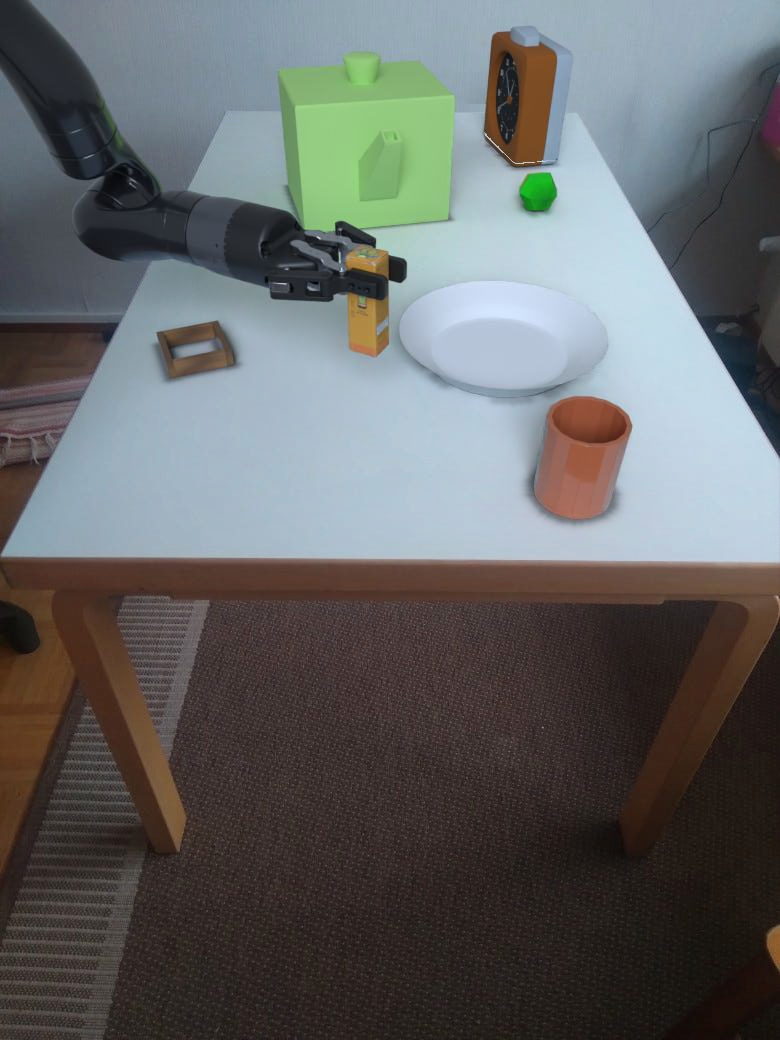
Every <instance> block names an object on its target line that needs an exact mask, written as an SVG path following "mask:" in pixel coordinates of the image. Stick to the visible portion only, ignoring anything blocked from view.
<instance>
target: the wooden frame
mask: <svg viewBox="0 0 780 1040" xmlns="http://www.w3.org/2000/svg"><path fill="white" fill-rule="evenodd" d="M155 334H156V338H157V342H158V344H159V345H158V346H159V349H160V351H161V355H162V358H163V361H164V364H165V368H166V371H167V373H168V377H169V379H173V378H178V377H183V376H188V375H193V374H197V373H203V372H207V371H211V370H212V371H213V370H217V369H222V368H226V367H230V366H234V365H235V362H234V361H235V360H234V355H233V350H232V348H231V345H230V343H229V341H228V339H227V337H226V335H225V332H224V331H223V328H222V326H221V324H220V322H219V320H218V319H217V320H212V321H207V322H202V323H197V324H190V325H187V326H182V327H175V328H170V329H166V330H165V329H164V330H160V331H156V332H155ZM212 339H216V342H217V344H218V346H219V349H217V350H212V351H208V352H207V351H206V352H203V353H198V354H193V355H187V356H183V357H178V358H172V355H171V352H170V348H171V347H177V346H181V345H187V344H192V343H197V342H203V341H207V340H212Z"/></svg>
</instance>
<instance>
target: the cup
mask: <svg viewBox="0 0 780 1040" xmlns="http://www.w3.org/2000/svg"><path fill="white" fill-rule="evenodd" d="M632 429H633V423H632V421H631V418H630V415H629V414H628V413H627V412H625V410H624V409H623V408H621V407H620V406H619V405H617V404H615V403H614V402H611V401H609V400H607V399H603V398H599V397H595V396H590V395H584V396H583V395H574V396H569V397H565V398H561V399H559V400H557V401H556V402H554V403H553V404H551V405H550V406H549V408H548V411H547V413H546V416H545V421H544V427H543V432H542V437H541V443H540V448H539V454H538V459H537V462H536V463H537V465H536V470H535V474H534V481H533V493H534V496H535V498H536V500H537V502H538V503H539V504H540V505H541V506H542V507H543V508H544V509H545V510H547V511H549V512H550V513H553V514H554V515H557V516H560V517H562V518H565V519H566V518H567V519H573V520H574V519H575V520H583V519H584V520H586V519H591V518H594V517H597V516H599V515H601V514H602V513H604V512H605V511H606V510H607V509H608V507H609V506H610V505H611V504H610V503H611V501H612V497H613V495H614V491H615V487H616V484H617V480H618V477H619V474H620V471H621V467H622V464H623V460H624V457H625V453H626V450H627V447H628V443H629V440H630V437H631V434H632Z"/></svg>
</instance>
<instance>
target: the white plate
mask: <svg viewBox="0 0 780 1040" xmlns="http://www.w3.org/2000/svg"><path fill="white" fill-rule="evenodd" d="M398 333H399V339H400V341H401V343H402V345H403V347H404V348H405V350H406V352H408V353H409V355H410V356H411V357H412V358H413V359H415V361H417V362H418V363H419V364H421V365H422V366H424V367H425V368H427V369H428V370H430V371H432V372H434V373H435V374H436V375H437V376H438V377H439V378H440V379H442V380H443V381H444V382H446V383H448V384H449V385H451V386H453V387H455V388H458V389H460V390H462V391H465V392H468V393H472V394H476V395H478V396H479V395H480V396H485V397H493V398H506V399H507V398H522V397H530V396H534V395H537V394H541V393H545V392H547V391H549V390H552V389H553V388H555V387H558V386H560V385H562V384H565V383H568V382H570V381H573V380H575V379H578V378H580V377H582V376H583V375H586V374H587V373H588V372H590V371H592V369H594V368H595V367H597V366H598V365H599V363H601V361H602V359H604V357H605V355H606V352H607V350H608V346H609V336H608V333H607V329H606V327H605V326H604V323H603V322H602V320H601V319H600V318H599V317H598V316H597V315H596V313H595V312H593V311H592V310H591V309H590V308H589V307H587V306H586V305H585V304H583V303H581V302H579V301H578V300H576V299H575V298H572V297H571V296H568V295H566V294H564V293H562V292H559V291H557V290H553V289H550V288H547V287H544V286H539V285H536V284H530V283H525V282H518V281H508V280H476V281H475V280H474V281H467V282H460V283H455V284H451V285H447V286H444V287H440V288H438V289H435V290H433V291H430V292H428V293H426V294H424V295H423V296H421V297H419V298H418V299H416V300H414V301H413V302H412V303H411V304H410V305H409V306H408V307H407V308H406V309H405V311H404V312H403V314H402V316H401V318H400V320H399V325H398Z"/></svg>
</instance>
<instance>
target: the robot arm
mask: <svg viewBox="0 0 780 1040" xmlns="http://www.w3.org/2000/svg"><path fill="white" fill-rule="evenodd" d="M0 73H1V74H2V77H4V79H5V81H6V82H7V83H8V85H9V87H10V88H11V89H12V92H14V95H15V96H16V98H17V100H18V101H19V102H20V104H21V106H22V108H23V110H24V112H25V113H26V115H27V117H28V118H29V121H30V122H31V123H32V125H33V127H34V129H35V131H36V132H37V134H38V136H39V138H40V140H41V141H42V142H43V144H44V146H45V148H46V149H47V152H48V153H49V155H50V157H51V158H52V160H53V161H54V163H55V164H56V166H57V168H58V169H59V170H60V171H61V172H62V173H63V174H65V175H66V176H67V177H69V178H71V179H74V180H77V181H92V180H94V181H93V182H92V183H91V184H90V186H89V187H88V188H87V189H86V190H85V192H84V193H83V194H82V195H81V197H79V199H78V200H77V201H76V203H75V204H74V205H73V208H72V210H71V217H70V218H71V219H70V220H71V226H72V229H73V231H74V234H76V237H77V238H78V240H79V241H80V243H82V244H83V245H84V246H85V247H86V248H88V249H89V250H90V251H91V252H92V253H94V254H96V255H98V256H100V257H103V258H105V259H109V260H112V261H118V262H124V263H125V262H126V263H133V262H155V261H156V262H157V261H168V260H175V261H177V262H182V263H185V264H188V265H192V266H195V267H199V268H203V269H205V270H208V271H210V272H212V273H214V274H216V275H219V276H222V277H226V278H230V279H233V280H238V281H240V282H245V283H249V284H252V285H255V286H259V287H262V288H266V289H269V297H270V299H272V300H278V301H296V302H315V303H317V302H318V303H331V302H333V301H334V300H335V298H334V296H335V295H338V296H347V294H349V293H353V294H356V295H360V296H364V297H368V298H372V299H376V300H380V301H382V300H384V299H385V298H386V297H387V296H388V279H387V277H386V276H384V275H381V274H377V273H373V272H369V271H365V270H362V269H358V268H354V267H353V268H351V269H350V270H348V266H346V256H347V255H348V254H349V253H350V252H352V251H353V250H354V249H356V248H357V247H359V246H361V245H362V246H367V247H371V248H376V249H377V237H374V236H373V235H371V234H370V233H367V232H365V231H363V230H362V229H361V228H360V229H358V228H356V227H354V226H352V225H350V224H349V223H347V222H345V221H337V222H335V230H334V231H329V232H323V231H320V230H304V229H303V226H302V225H300V223H299V222H298V220H297V218H296V217H295V216H294V214H292V213H291V212H290V211H288V210H285V209H281V208H277V207H272V206H269V205H264V204H260V203H255V202H251V201H246V200H242V199H237V198H233V197H225V196H213V195H209V194H204V193H200V192H195V191H192V190H189V189H188V190H187V189H182V188H169V189H165V190H164V188H163V185H162V183H161V181H160V180H159V178H158V177H157V175H156V174H155V173H154V172H153V171H152V170H151V169H150V167H149V166H148V165H147V164H146V163H145V162H144V160H143V159H142V157H140V155H139V154H138V153H137V151H135V149H134V148H133V146H132V145H131V144H130V143H129V141H127V139H126V138H125V137H124V135H123V134H122V133H121V131H120V130H119V128H118V125H117V123H116V120H115V117H114V116H113V114H112V111H111V109H110V107H109V106H108V103H107V101H106V99H105V97H104V94H103V92H102V91H101V87H100V85H99V84H98V82H97V80H96V78H95V76H94V74H93V73H92V71H91V70H90V68H89V66H88V65H87V63H86V62H85V61H84V59H83V58H82V57H81V55H80V54H79V52H78V51H77V50H76V49H75V48H74V47H73V45H72V44H71V43H70V41H68V39H67V38H66V37H65V36H64V35H63V34H62V33H61V32H60V31H59V30H58V29H57V27H55V25H54V24H53V23H52V22H51V21H50V20H49V19H48V18H47V16H46V15H44V14H43V12H41V11H40V9H38V7H37V6H36V5H35V4H34V3H33V2H32V1H31V0H0ZM407 277H408V262H407V260H406V259H405V258H404V257H399V256H395V255H391V254H389V282H394V283H396V284H402V283H404V281H406V280H407ZM310 288H311V289H310ZM312 289H313V290H312Z"/></svg>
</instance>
